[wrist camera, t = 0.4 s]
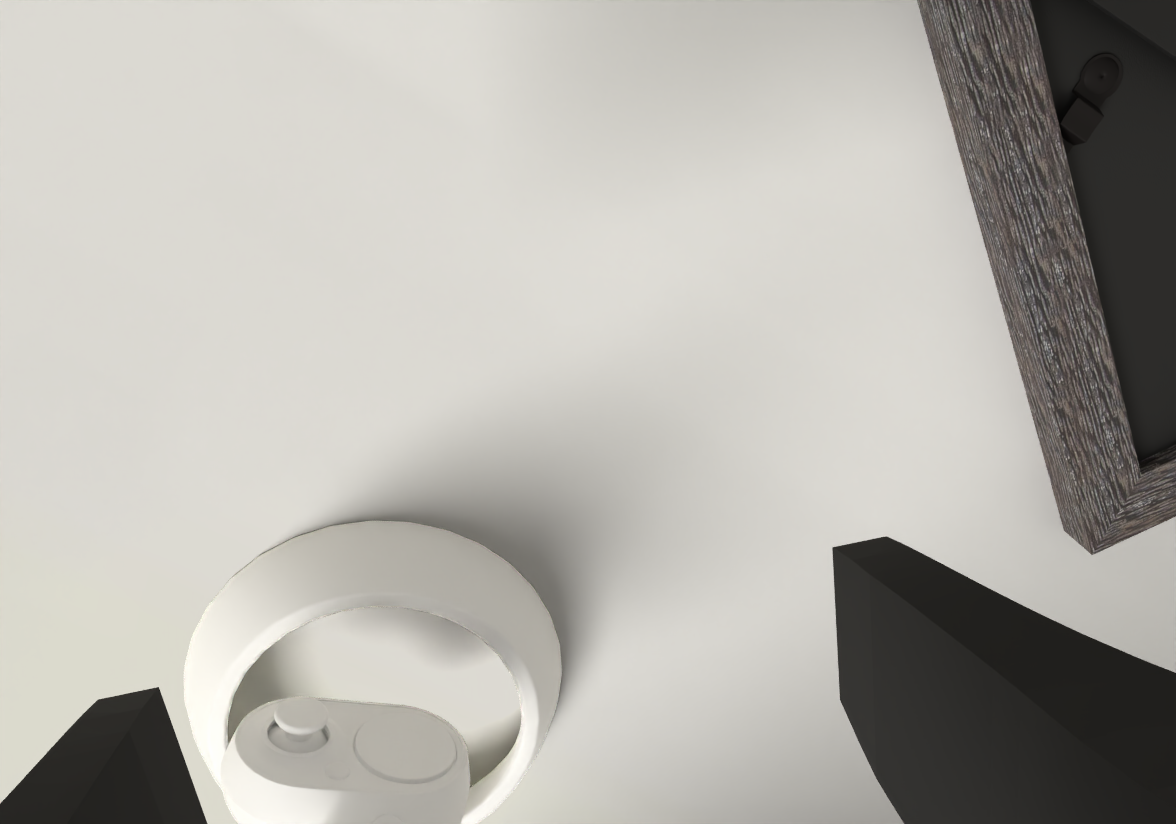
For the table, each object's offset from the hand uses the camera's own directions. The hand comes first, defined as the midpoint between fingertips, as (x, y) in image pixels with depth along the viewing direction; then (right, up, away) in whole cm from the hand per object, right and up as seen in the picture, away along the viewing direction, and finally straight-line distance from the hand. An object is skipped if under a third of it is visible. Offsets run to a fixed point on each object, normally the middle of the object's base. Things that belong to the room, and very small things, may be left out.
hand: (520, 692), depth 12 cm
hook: (-4, -3, +11) cm, 12 cm away
